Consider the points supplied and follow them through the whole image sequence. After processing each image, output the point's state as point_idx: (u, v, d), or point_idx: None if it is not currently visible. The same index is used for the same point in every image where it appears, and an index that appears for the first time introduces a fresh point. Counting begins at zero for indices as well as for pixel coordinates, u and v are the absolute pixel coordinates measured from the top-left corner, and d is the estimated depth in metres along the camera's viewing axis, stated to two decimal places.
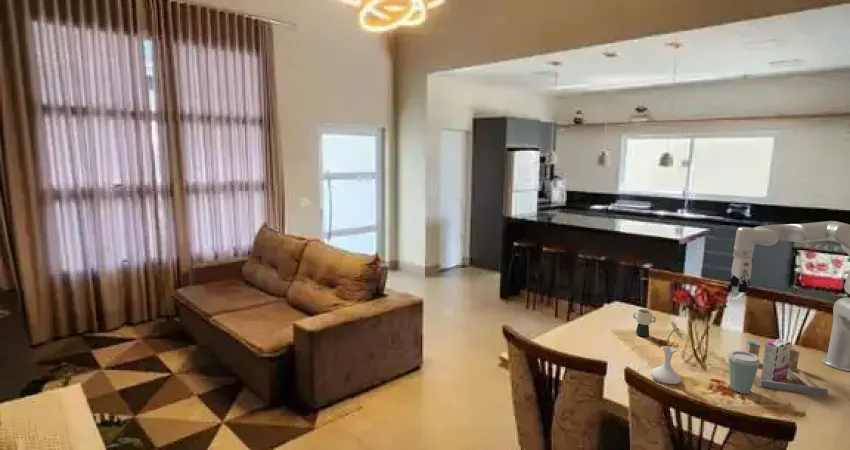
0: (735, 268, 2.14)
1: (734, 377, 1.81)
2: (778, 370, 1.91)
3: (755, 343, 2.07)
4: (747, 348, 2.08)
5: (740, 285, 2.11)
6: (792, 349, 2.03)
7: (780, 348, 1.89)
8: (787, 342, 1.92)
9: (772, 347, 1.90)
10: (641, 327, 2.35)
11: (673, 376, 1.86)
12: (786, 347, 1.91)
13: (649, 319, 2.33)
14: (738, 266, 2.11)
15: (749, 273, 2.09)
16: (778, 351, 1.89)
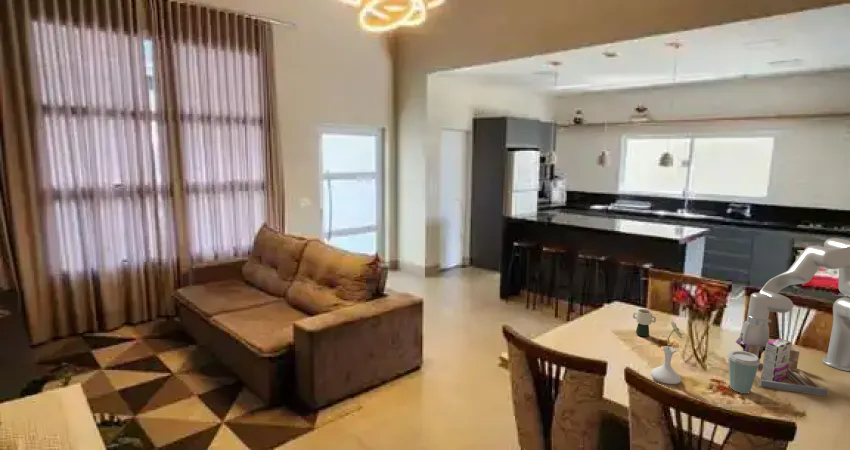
0: (758, 338, 2.04)
1: (734, 377, 1.81)
2: (778, 370, 1.91)
3: None
4: None
5: None
6: (792, 349, 2.03)
7: (780, 348, 1.89)
8: (787, 342, 1.92)
9: (772, 347, 1.90)
10: (641, 327, 2.35)
11: (673, 376, 1.86)
12: (786, 347, 1.91)
13: (649, 319, 2.33)
14: (766, 335, 2.03)
15: None
16: (778, 351, 1.89)
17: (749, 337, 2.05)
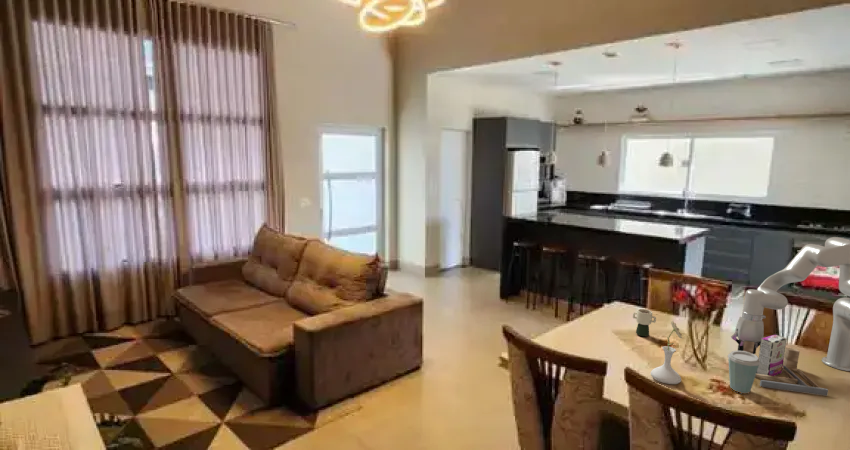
0: (753, 333, 2.09)
1: (734, 377, 1.81)
2: (773, 366, 1.95)
3: None
4: None
5: (754, 349, 2.11)
6: (792, 349, 2.03)
7: (774, 344, 1.93)
8: (782, 338, 1.96)
9: (767, 342, 1.94)
10: (641, 327, 2.35)
11: (673, 376, 1.86)
12: (781, 343, 1.95)
13: (649, 319, 2.33)
14: (760, 330, 2.09)
15: None
16: (773, 346, 1.93)
17: (744, 332, 2.10)
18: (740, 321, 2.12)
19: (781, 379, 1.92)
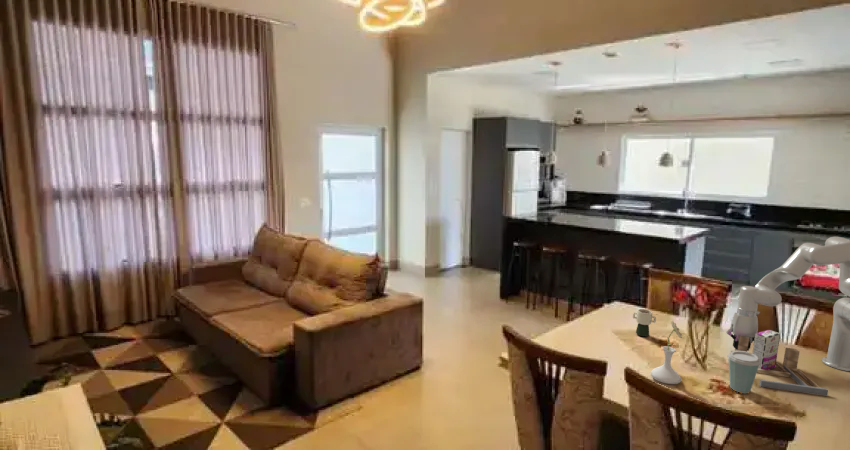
0: (748, 328, 2.15)
1: (734, 377, 1.81)
2: (766, 360, 2.00)
3: None
4: None
5: (749, 344, 2.17)
6: (792, 349, 2.03)
7: (768, 339, 1.98)
8: (775, 333, 2.02)
9: (760, 337, 2.00)
10: (641, 327, 2.35)
11: (673, 376, 1.86)
12: (774, 338, 2.01)
13: (649, 319, 2.33)
14: (754, 326, 2.14)
15: None
16: (766, 341, 1.98)
17: (739, 328, 2.16)
18: (735, 317, 2.17)
19: (774, 373, 1.98)
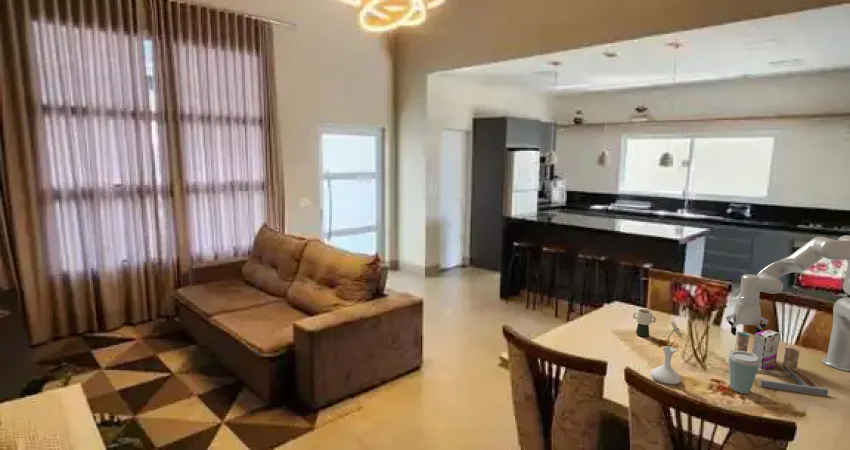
0: (750, 317, 2.14)
1: (734, 377, 1.81)
2: (766, 360, 2.01)
3: (745, 333, 2.18)
4: (737, 338, 2.19)
5: None
6: (792, 349, 2.03)
7: (768, 339, 1.99)
8: (775, 333, 2.02)
9: (760, 337, 2.00)
10: (641, 327, 2.35)
11: (673, 376, 1.86)
12: (774, 338, 2.01)
13: (649, 319, 2.33)
14: (757, 314, 2.13)
15: None
16: (766, 341, 1.98)
17: (742, 317, 2.15)
18: (737, 306, 2.16)
19: (774, 373, 1.98)
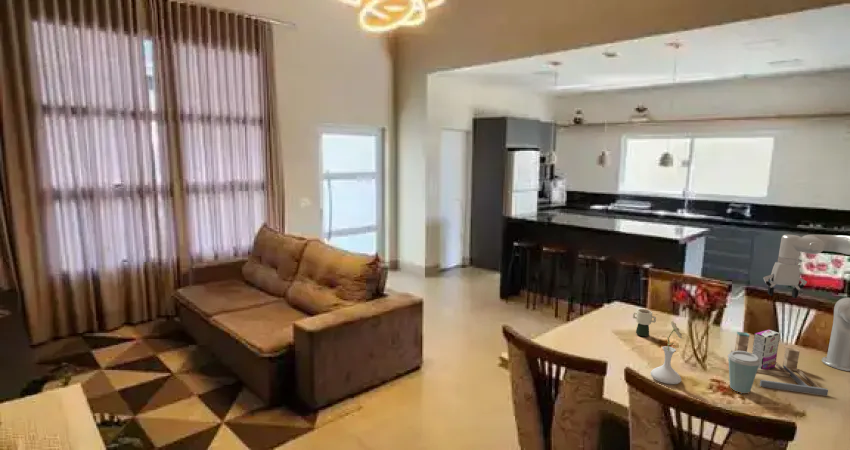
0: (789, 277, 2.13)
1: (734, 377, 1.81)
2: (766, 360, 2.01)
3: (745, 333, 2.18)
4: (737, 338, 2.19)
5: None
6: (792, 349, 2.03)
7: (768, 339, 1.99)
8: (775, 333, 2.02)
9: (760, 337, 2.00)
10: (641, 327, 2.35)
11: (673, 376, 1.86)
12: (774, 338, 2.01)
13: (649, 319, 2.33)
14: (796, 274, 2.12)
15: None
16: (766, 341, 1.98)
17: (780, 277, 2.14)
18: (776, 266, 2.15)
19: (774, 373, 1.98)
